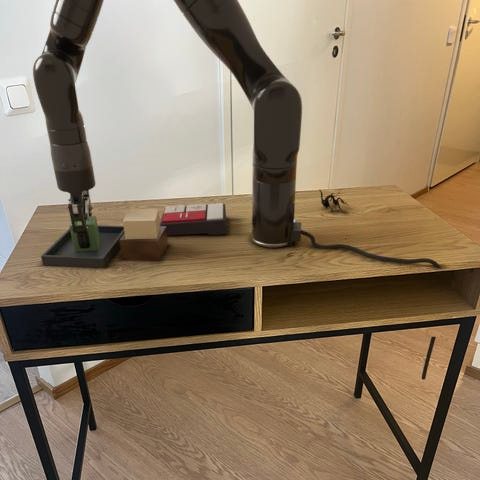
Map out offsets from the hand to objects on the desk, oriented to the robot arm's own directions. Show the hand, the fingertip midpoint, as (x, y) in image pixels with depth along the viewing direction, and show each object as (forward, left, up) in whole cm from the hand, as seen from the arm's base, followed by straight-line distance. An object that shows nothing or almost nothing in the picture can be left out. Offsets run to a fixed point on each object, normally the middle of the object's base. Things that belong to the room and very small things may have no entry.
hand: (87, 240), depth 109 cm
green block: (0, 0, -2) cm, 2 cm away
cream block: (-13, +1, +2) cm, 13 cm away
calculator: (-21, -15, -2) cm, 26 cm away
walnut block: (-13, +1, -2) cm, 13 cm away
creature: (-55, -29, -2) cm, 62 cm away
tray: (0, 0, -2) cm, 2 cm away
